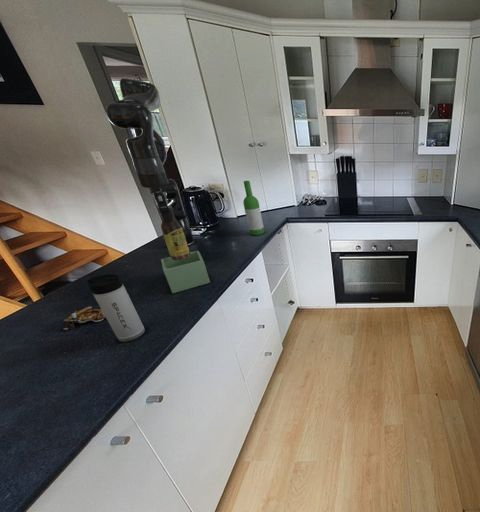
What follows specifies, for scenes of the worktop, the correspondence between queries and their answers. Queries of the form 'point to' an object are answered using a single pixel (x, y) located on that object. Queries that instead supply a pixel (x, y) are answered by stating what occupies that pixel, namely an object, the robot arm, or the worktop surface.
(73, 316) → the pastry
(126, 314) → the travel mug
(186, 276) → the caddy
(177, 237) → the sauce bottle
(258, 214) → the wine bottle
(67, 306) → the worktop surface
